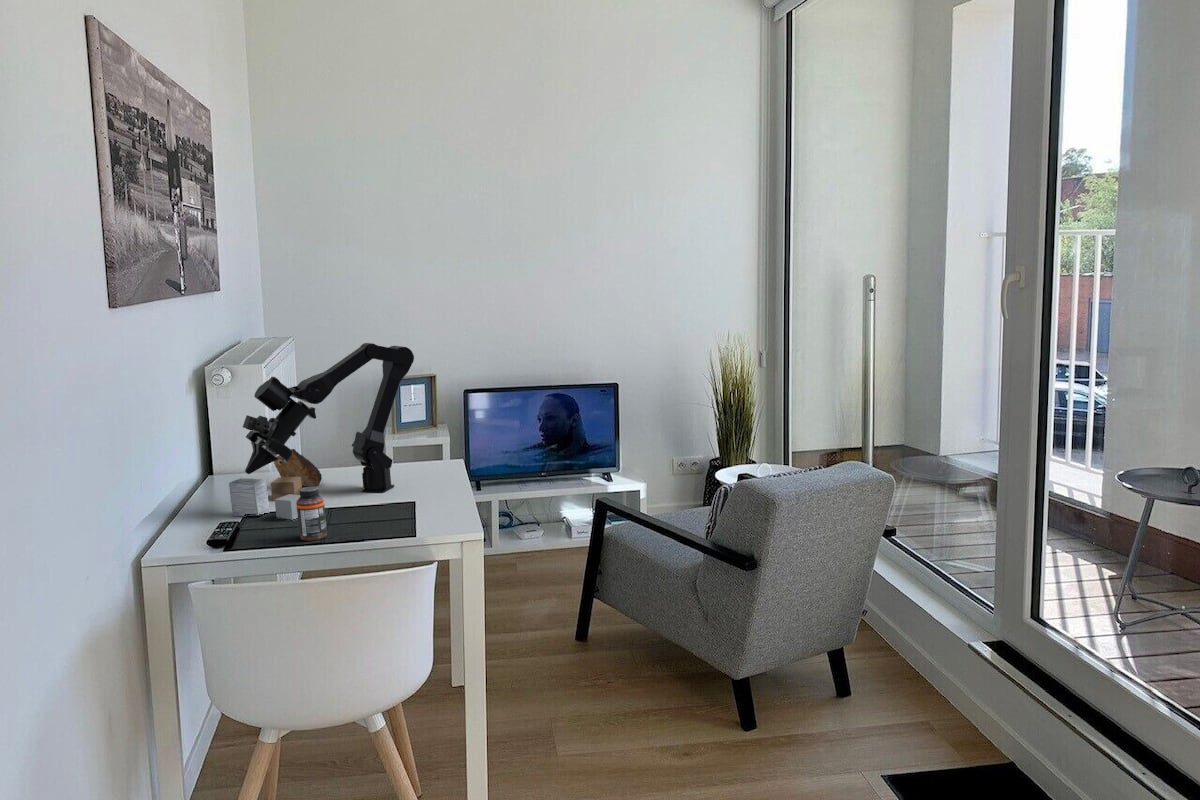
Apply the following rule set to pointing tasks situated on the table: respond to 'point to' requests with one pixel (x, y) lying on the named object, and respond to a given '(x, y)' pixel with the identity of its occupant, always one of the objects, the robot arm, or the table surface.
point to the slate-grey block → (287, 506)
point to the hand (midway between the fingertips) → (246, 473)
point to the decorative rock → (299, 469)
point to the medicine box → (249, 496)
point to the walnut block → (285, 486)
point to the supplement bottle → (311, 514)
